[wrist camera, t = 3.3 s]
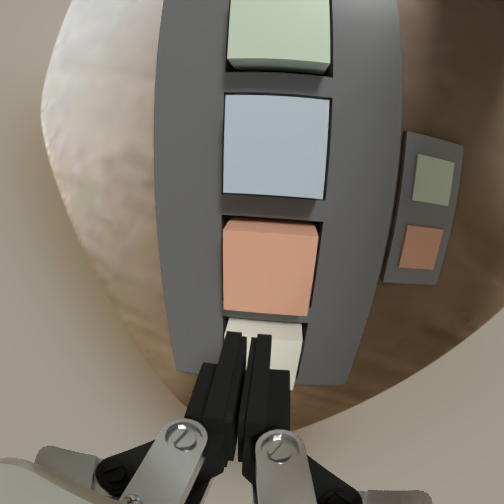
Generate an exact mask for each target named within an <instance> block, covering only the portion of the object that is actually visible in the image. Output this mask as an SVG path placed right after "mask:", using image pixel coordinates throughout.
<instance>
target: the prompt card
mask: <svg viewBox="0 0 504 504" xmlns="http://www.w3.org/2000/svg"><path fill="white" fill-rule="evenodd" d="M463 150H464V146H461V145H458V144H455V143H452V142H448V141H445V140H441V139H438V138H434V137H430V136H426V135H422V134H418V133H414V132H410V131H404V140H403V152H402V163H401V172H400V180H399V188H398V195H397V202H396V208H395V214H394V220H393V226H392V231H391V236H390V241H389V246H388V251H387V255H386V260H385V264H384V269H383V273H382V277H381V280H382V282H383V283H402V284H424V285H436V283H437V280H438V277H439V274H440V271H441V267H442V264H443V260H444V257H445V253H446V249H447V245H448V241H449V237H450V233H451V228H452V224H453V219H454V214H455V209H456V203H457V198H458V191H459V185H460V178H461V170H462V161H463Z"/></svg>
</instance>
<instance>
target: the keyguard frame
mask: <svg viewBox="0 0 504 504" xmlns="http://www.w3.org/2000/svg"><path fill="white" fill-rule="evenodd" d="M230 6H231V0H164V2H163V9H162V17H161V25H160V33H159V43H158V53H157V66H156V81H155V103H154V177H155V201H156V217H157V231H158V243H159V254H160V263H161V272H162V281H163V289H164V297H165V304H166V311H167V318H168V324H169V330H170V336H171V342H172V348H173V353H174V359H175V364H176V369H177V371H182V372H188V373H194V374H199V372H200V369H201V366H202V364H203V362H206V363H214V364H218V361H219V357H220V354H221V350H222V347H223V343H224V334H225V331H226V328H227V324H228V321H229V318H230V317H238V318H249V319H260V320H272V321H286V322H301V323H302V339H303V342H302V347H301V353H300V358H299V363H298V368H297V373H296V378H295V382H294V384H299V385H345V384H346V381H347V379H348V376H349V373H350V371H351V368H352V365H353V362H354V360H355V357H356V354H357V351H358V348H359V345H360V342H361V339H362V336H363V332H364V329H365V326H366V323H367V319H368V316H369V313H370V309H371V305H372V302H373V298H374V294H375V291H376V287H377V283H378V279H379V275H380V270H381V266H382V262H383V257H384V253H385V248H386V243H387V238H388V233H389V227H390V222H391V216H392V210H393V203H394V197H395V190H396V182H397V174H398V165H399V154H400V143H401V128H402V103H403V70H402V46H401V32H400V22H399V13H398V5H397V2H396V1H393V0H329V12H330V64H329V66H328V68H327V69H326V77H324V76H315V75H305V74H293V73H275V72H235V68H234V67H233V66H232V64H231V63H230V62H229V60H228V59H227V54H228V36H229V20H230ZM226 95H269V96H288V97H301V98H312V99H322V100H329V122H328V140H327V155H326V168H325V180H324V191H323V199H315V198H304V197H291V196H277V195H261V194H243V193H223V171H224V127H225V97H226ZM231 215H235V216H252V217H267V218H282V219H295V220H308V221H316V230H317V234H318V237H319V238H318V246H317V253H316V261H315V268H314V275H313V282H312V289H311V295H310V302H309V308H308V314H307V316H295V315H281V314H268V313H256V312H245V311H234V310H225V309H224V296H223V229H224V228H225V226H226V224H227V223H228V221H229V220H230V217H231Z"/></svg>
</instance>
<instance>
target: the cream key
mask: <svg viewBox="0 0 504 504" xmlns="http://www.w3.org/2000/svg"><path fill="white" fill-rule="evenodd" d="M227 331H233V332H242V336H246V337H247V355H246V368H247V362H248V356H249V349H250V343H251V337H257V334H268V335H272V344H271V360H270V369H277V370H290V390H293V387H294V382H295V378H296V373H297V368H298V363H299V358H300V353H301V347H302V342H303V339H302V323H301V322H286V321H272V320H260V319H249V318H238V317H230V318H229V321H228V324H227V328H226V331H225V334H224V339H225V336H226V332H227Z"/></svg>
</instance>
